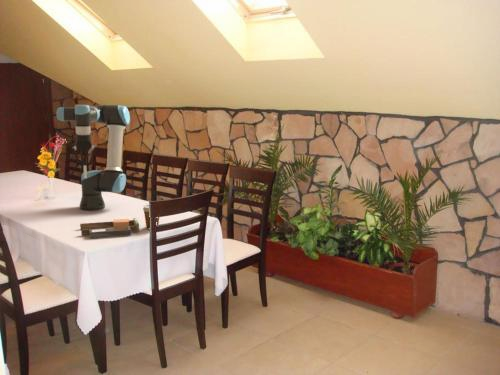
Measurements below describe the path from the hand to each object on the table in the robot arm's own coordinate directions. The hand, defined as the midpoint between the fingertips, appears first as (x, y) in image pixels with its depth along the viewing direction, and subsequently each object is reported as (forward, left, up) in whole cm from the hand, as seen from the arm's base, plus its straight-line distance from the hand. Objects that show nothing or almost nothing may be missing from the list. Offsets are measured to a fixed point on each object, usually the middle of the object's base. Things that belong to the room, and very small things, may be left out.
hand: (85, 177), depth 282 cm
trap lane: (+18, +11, -26) cm, 33 cm away
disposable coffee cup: (+16, +33, -27) cm, 45 cm away
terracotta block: (+14, +17, -27) cm, 35 cm away
